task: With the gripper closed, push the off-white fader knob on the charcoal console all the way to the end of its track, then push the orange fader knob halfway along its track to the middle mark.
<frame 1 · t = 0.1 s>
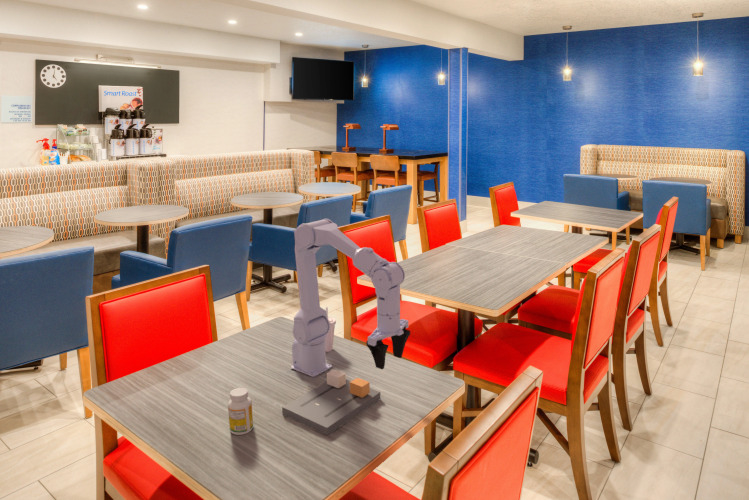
hand: (389, 362, 134), 10 cm above the table, tool pointing down, fingers open, 7 cm apart
supplement bottle: (241, 429, 123), on the table
fader console: (332, 406, 132), on the table
smoothie: (326, 349, 165), on the table
orange fader: (359, 387, 133), point 4 cm above the table, slide at 0.0 cm
off white fader: (336, 378, 138), point 4 cm above the table, slide at 0.0 cm
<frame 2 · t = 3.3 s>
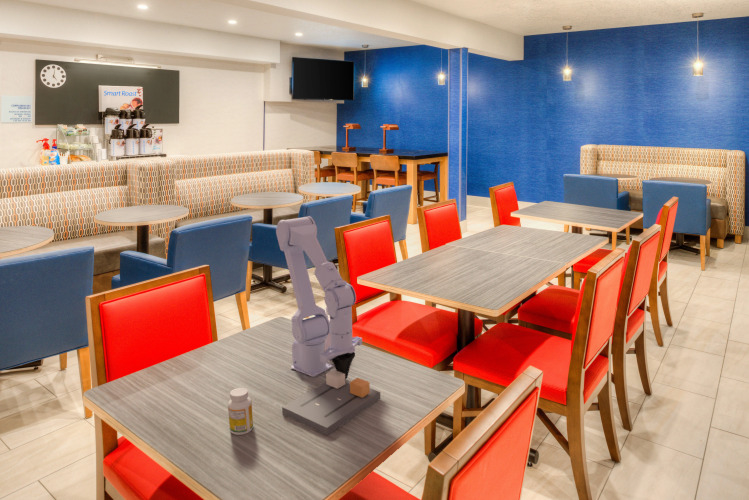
hand: (342, 378, 140), 3 cm above the table, tool pointing down, fingers closed
off white fader: (335, 379, 138), point 4 cm above the table, slide at 0.3 cm, touching gripper
everything else where it was.
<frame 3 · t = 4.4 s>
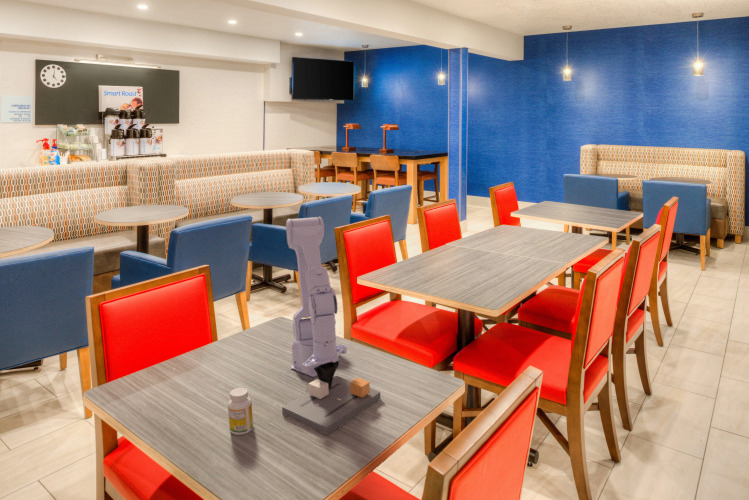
hand: (326, 387, 135), 3 cm above the table, tool pointing down, fingers closed
off white fader: (318, 388, 133), point 4 cm above the table, slide at 6.7 cm, touching gripper
everything else where it was.
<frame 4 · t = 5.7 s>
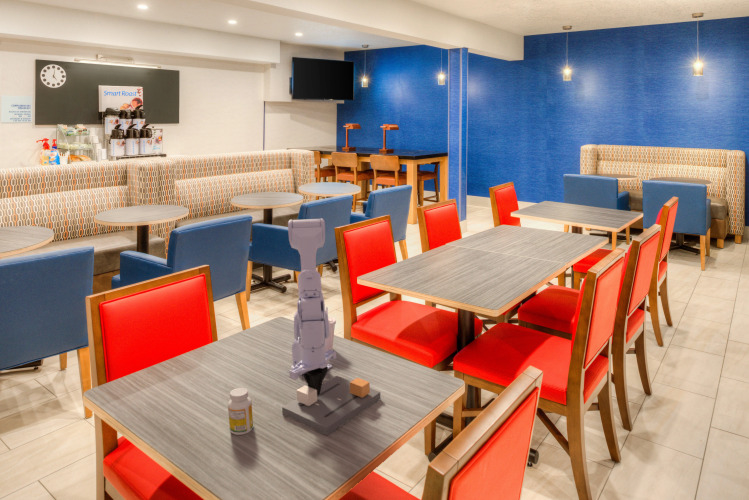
hand: (315, 394, 132), 3 cm above the table, tool pointing down, fingers closed
off white fader: (306, 395, 130), point 4 cm above the table, slide at 10.8 cm, touching gripper
everything else where it was.
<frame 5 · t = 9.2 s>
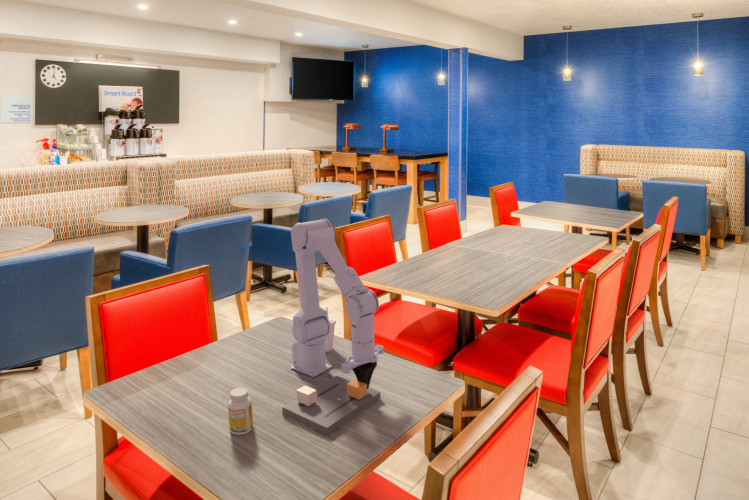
hand: (364, 388, 135), 3 cm above the table, tool pointing down, fingers closed
orange fader: (356, 389, 132), point 4 cm above the table, slide at 1.1 cm, touching gripper
off white fader: (306, 395, 130), point 4 cm above the table, slide at 10.8 cm
everything else where it was.
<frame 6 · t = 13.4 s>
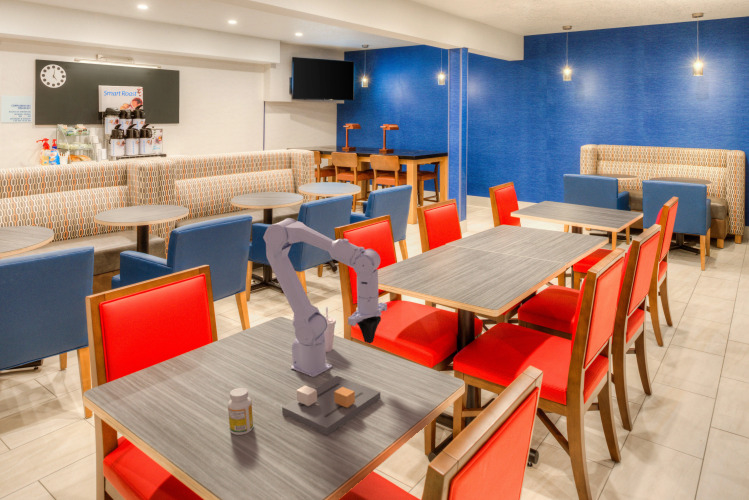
hand: (368, 341, 145), 10 cm above the table, tool pointing down, fingers closed
orange fader: (344, 397, 129), point 4 cm above the table, slide at 5.8 cm
everything else where it was.
at the end: off white fader slide at 10.8 cm; orange fader slide at 5.8 cm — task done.
